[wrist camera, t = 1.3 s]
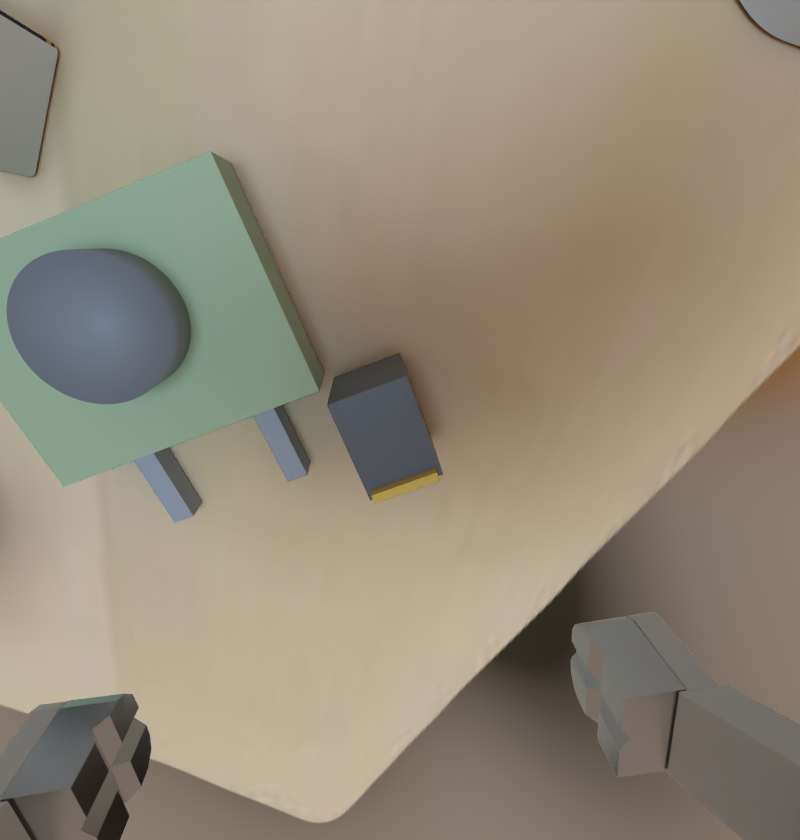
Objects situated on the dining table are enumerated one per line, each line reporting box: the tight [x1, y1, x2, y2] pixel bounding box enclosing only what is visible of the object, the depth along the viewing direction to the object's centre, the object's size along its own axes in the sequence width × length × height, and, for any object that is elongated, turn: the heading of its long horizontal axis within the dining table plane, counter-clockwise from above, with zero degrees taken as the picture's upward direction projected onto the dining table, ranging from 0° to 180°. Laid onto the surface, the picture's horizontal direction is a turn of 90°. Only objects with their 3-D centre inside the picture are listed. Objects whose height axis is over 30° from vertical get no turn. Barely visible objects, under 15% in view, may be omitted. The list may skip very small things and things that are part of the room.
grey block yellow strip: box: [327, 353, 443, 503], centre depth 31 cm, size 5×7×7 cm
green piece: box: [0, 151, 324, 523], centre depth 29 cm, size 18×20×7 cm
